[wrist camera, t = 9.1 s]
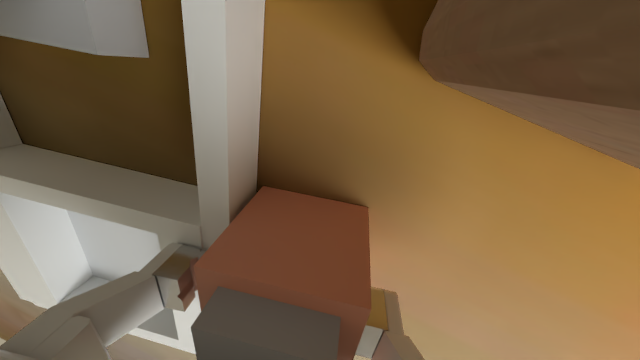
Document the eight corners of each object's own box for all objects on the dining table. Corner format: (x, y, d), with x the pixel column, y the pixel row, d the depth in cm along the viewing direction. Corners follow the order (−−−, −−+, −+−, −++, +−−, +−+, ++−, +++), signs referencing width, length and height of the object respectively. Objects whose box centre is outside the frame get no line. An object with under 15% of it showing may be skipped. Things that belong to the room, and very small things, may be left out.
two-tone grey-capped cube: (344, 294, 13) (330, 457, 8) (261, 274, 14) (191, 413, 8) (368, 207, 10) (372, 361, 5) (263, 185, 11) (159, 304, 5)
